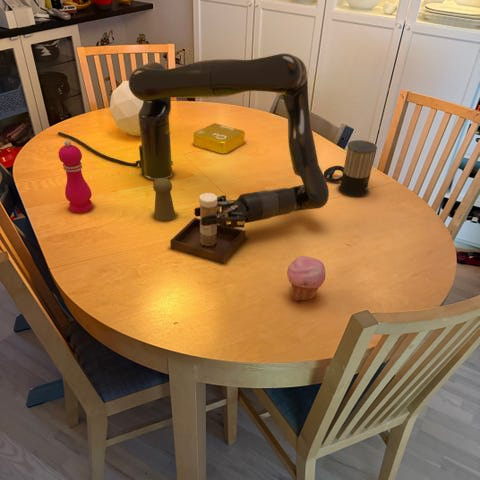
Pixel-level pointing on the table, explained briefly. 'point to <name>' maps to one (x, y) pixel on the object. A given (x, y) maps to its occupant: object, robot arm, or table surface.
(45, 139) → the table surface
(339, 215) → the table surface
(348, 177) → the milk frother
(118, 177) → the table surface
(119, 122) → the ball
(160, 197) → the olive chess pawn
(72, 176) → the pepper mill
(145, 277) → the table surface
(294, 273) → the cupcake
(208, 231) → the sprinkles bottle
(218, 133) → the element tile
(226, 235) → the tray
